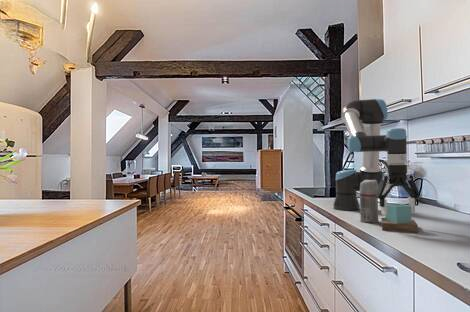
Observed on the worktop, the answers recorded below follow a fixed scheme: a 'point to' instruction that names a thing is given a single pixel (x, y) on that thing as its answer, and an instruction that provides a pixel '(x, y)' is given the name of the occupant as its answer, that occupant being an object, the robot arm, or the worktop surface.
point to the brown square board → (399, 226)
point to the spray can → (368, 201)
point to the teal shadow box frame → (398, 213)
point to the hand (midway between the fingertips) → (398, 213)
